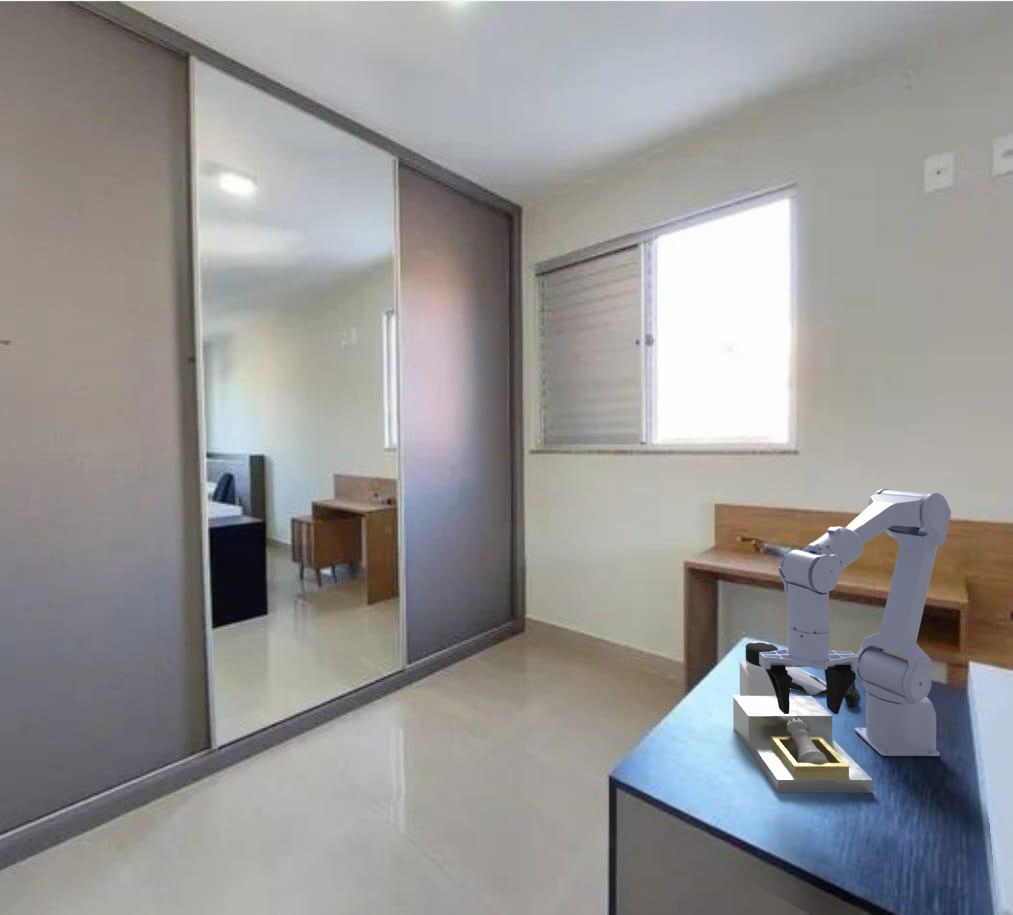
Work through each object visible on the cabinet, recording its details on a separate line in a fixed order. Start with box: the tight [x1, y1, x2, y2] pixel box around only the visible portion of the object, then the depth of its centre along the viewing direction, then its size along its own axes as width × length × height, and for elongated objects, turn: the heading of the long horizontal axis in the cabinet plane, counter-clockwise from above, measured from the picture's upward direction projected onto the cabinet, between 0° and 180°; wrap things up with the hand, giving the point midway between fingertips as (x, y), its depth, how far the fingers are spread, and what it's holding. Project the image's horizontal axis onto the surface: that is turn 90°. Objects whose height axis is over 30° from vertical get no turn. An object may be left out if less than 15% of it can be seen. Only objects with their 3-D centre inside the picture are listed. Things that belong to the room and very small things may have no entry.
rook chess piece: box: [787, 718, 829, 763], centre depth 87 cm, size 4×4×8 cm
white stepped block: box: [732, 695, 874, 794], centre depth 90 cm, size 14×18×6 cm
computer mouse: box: [786, 667, 860, 708], centre depth 114 cm, size 10×18×4 cm, turn 55°
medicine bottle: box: [739, 640, 779, 696], centre depth 108 cm, size 7×7×12 cm
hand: (808, 711), depth 86 cm, fingers open, 7 cm apart
